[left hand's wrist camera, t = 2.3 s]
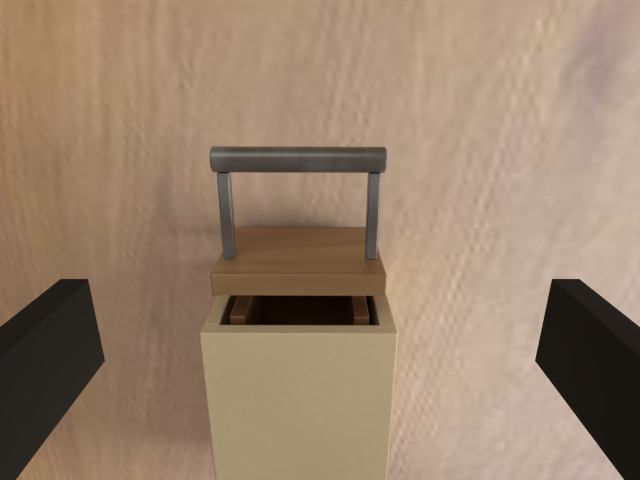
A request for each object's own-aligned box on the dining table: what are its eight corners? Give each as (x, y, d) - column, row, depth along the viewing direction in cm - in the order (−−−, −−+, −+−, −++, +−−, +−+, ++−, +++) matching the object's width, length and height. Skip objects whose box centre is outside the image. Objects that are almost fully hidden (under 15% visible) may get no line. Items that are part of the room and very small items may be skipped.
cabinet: (232, 260, 30) (198, 333, 22) (376, 260, 30) (398, 333, 22) (246, 447, 36) (224, 561, 28) (367, 447, 36) (380, 561, 28)
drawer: (229, 133, 26) (198, 154, 20) (375, 133, 26) (394, 154, 20) (249, 418, 34) (232, 503, 27) (362, 418, 34) (372, 503, 27)
